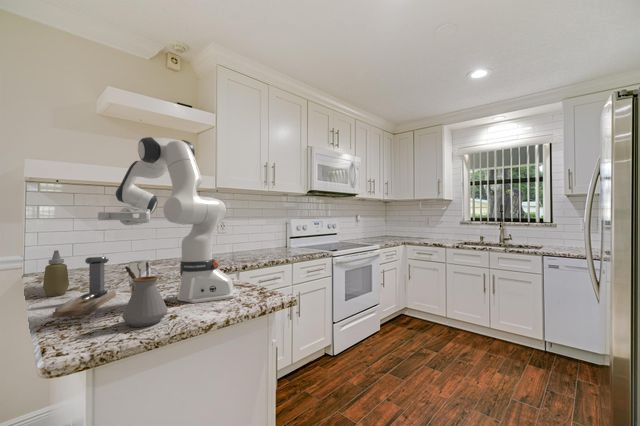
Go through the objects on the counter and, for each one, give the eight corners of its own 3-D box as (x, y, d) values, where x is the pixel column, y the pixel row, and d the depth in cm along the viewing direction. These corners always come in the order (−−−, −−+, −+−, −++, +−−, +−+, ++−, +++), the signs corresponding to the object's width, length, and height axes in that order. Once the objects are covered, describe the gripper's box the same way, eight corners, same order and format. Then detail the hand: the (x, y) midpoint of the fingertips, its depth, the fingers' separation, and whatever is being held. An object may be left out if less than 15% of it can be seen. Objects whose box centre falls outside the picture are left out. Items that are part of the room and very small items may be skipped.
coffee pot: (174, 320, 88) (174, 270, 88) (131, 332, 79) (131, 276, 79) (144, 308, 101) (144, 263, 102) (104, 317, 92) (104, 268, 93)
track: (115, 295, 118) (115, 289, 118) (86, 314, 95) (86, 306, 95) (89, 297, 116) (89, 291, 116) (52, 317, 93) (52, 309, 93)
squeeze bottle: (42, 294, 121) (42, 250, 122) (68, 291, 127) (68, 249, 127) (42, 298, 115) (42, 252, 116) (69, 294, 121) (69, 250, 121)
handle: (111, 293, 116) (111, 255, 116) (97, 301, 104) (97, 259, 104) (88, 294, 113) (88, 256, 114) (72, 303, 102) (72, 260, 102)
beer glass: (140, 306, 103) (140, 263, 103) (123, 305, 104) (123, 262, 105) (155, 301, 110) (155, 260, 110) (139, 300, 111) (139, 260, 112)
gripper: (104, 209, 139) (91, 208, 126) (153, 209, 145) (145, 208, 132) (104, 223, 139) (91, 223, 126) (153, 222, 145) (145, 222, 131)
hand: (119, 215), depth 129 cm, fingers open, 8 cm apart
